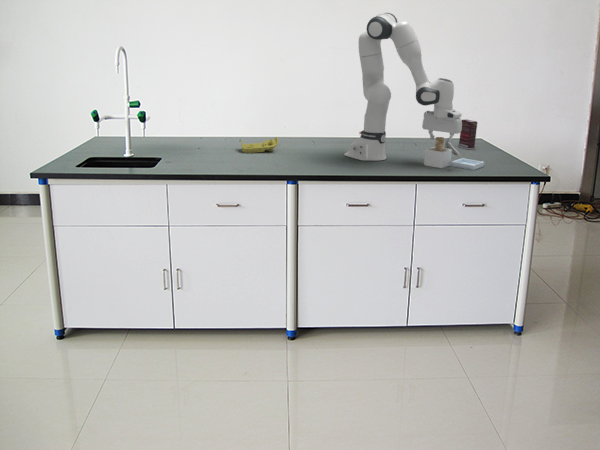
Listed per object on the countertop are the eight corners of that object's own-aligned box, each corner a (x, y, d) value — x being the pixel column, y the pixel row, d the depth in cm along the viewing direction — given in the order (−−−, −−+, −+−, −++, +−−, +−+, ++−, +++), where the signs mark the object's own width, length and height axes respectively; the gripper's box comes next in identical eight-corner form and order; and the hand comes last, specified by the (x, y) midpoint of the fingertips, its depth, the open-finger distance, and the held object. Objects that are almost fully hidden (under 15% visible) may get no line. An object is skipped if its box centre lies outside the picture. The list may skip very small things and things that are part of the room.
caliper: (444, 149, 346) (445, 138, 344) (446, 149, 346) (447, 138, 344) (459, 156, 327) (460, 145, 325) (461, 156, 327) (462, 145, 325)
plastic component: (242, 149, 319) (240, 137, 326) (242, 160, 324) (241, 148, 331) (279, 146, 321) (277, 135, 328) (279, 157, 326) (277, 145, 333)
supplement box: (474, 149, 346) (478, 121, 341) (468, 149, 344) (471, 122, 339) (464, 146, 353) (467, 119, 348) (458, 146, 351) (461, 119, 346)
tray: (450, 166, 304) (451, 161, 303) (461, 162, 312) (462, 158, 312) (472, 170, 296) (473, 165, 296) (483, 166, 305) (484, 161, 304)
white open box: (424, 165, 305) (425, 149, 302) (433, 162, 312) (435, 146, 309) (441, 168, 299) (442, 152, 296) (450, 165, 306) (452, 149, 303)
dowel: (431, 165, 305) (434, 137, 301) (435, 163, 308) (438, 136, 303) (438, 166, 303) (441, 138, 298) (442, 165, 305) (445, 137, 301)
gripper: (421, 111, 301) (419, 138, 305) (458, 115, 288) (455, 144, 293) (427, 109, 305) (425, 136, 310) (464, 113, 292) (462, 142, 297)
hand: (440, 140), depth 301 cm, fingers open, 8 cm apart
